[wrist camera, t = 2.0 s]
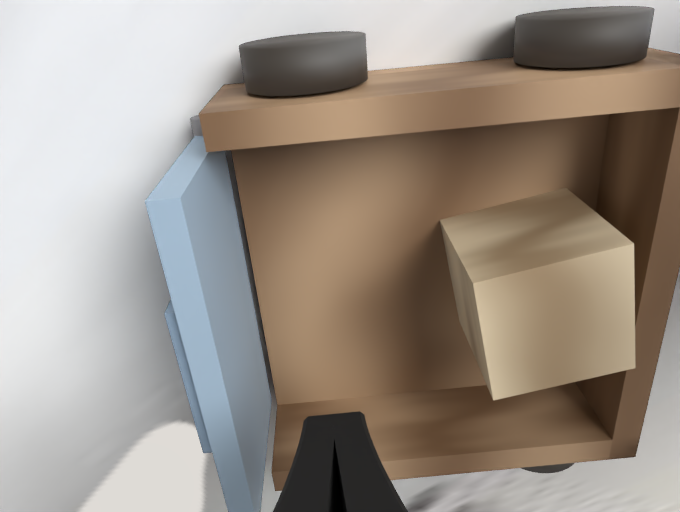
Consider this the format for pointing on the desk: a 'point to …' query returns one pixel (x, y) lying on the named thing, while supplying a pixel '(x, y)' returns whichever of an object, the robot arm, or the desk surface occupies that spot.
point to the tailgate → (214, 317)
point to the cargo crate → (542, 292)
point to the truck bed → (426, 234)
